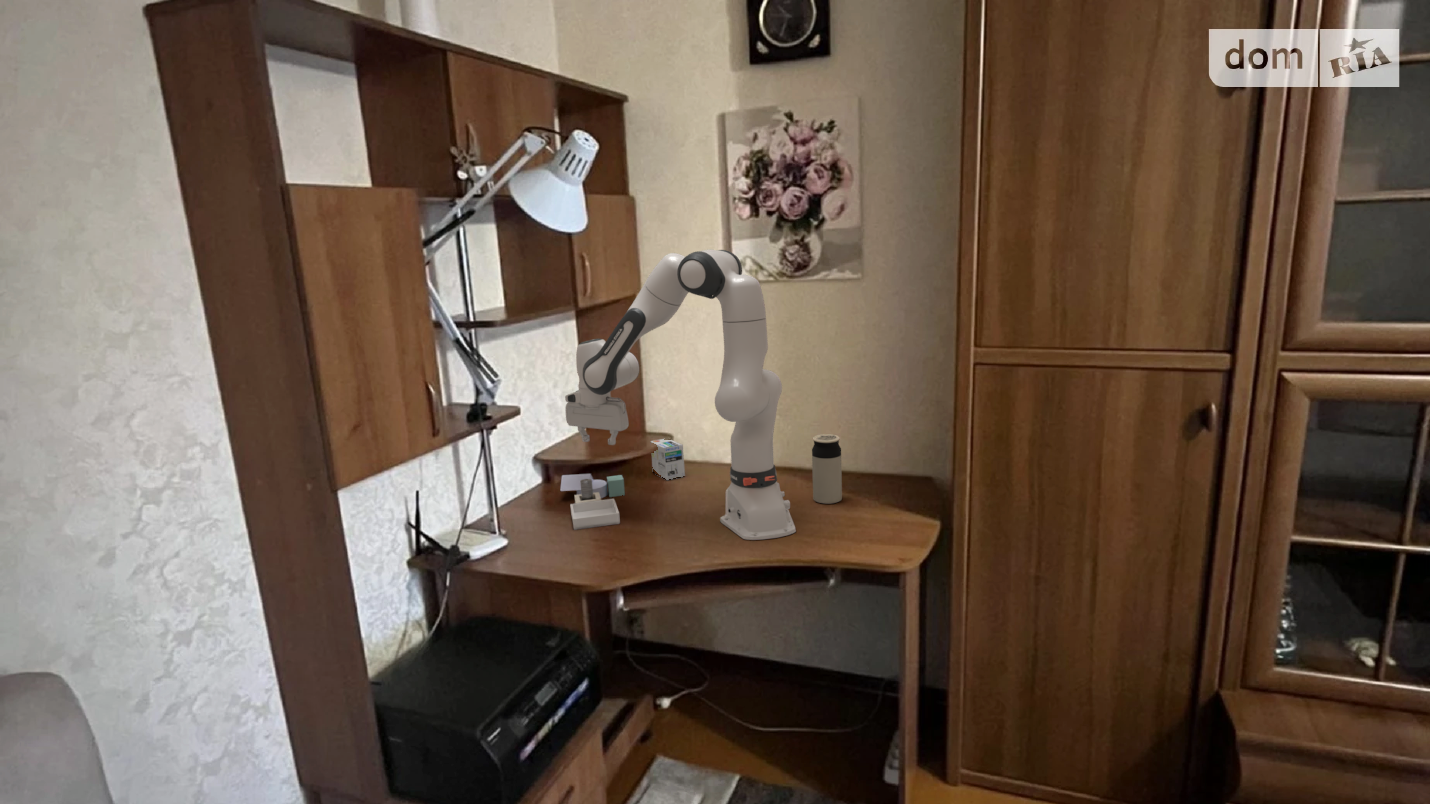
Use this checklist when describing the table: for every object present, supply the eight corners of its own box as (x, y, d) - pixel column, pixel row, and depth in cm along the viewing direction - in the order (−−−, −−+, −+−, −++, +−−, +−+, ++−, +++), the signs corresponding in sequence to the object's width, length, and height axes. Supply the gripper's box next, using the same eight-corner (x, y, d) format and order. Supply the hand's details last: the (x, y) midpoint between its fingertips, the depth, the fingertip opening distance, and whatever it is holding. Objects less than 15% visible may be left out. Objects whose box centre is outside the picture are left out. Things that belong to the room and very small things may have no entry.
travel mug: (847, 501, 215) (846, 438, 211) (822, 506, 212) (820, 443, 208) (832, 493, 222) (831, 432, 218) (808, 497, 219) (806, 436, 215)
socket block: (602, 509, 218) (601, 499, 218) (576, 513, 217) (575, 503, 216) (599, 501, 225) (598, 492, 224) (575, 505, 223) (574, 495, 223)
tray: (620, 523, 207) (619, 513, 206) (573, 529, 204) (572, 519, 204) (614, 508, 219) (614, 498, 218) (571, 514, 216) (570, 504, 215)
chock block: (624, 495, 230) (623, 479, 229) (609, 497, 229) (608, 481, 228) (623, 490, 234) (621, 474, 233) (608, 492, 233) (606, 476, 232)
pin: (594, 508, 220) (592, 481, 218) (583, 510, 219) (580, 483, 217) (593, 504, 223) (591, 478, 221) (582, 506, 222) (579, 479, 220)
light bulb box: (685, 477, 244) (683, 443, 241) (666, 481, 241) (664, 447, 238) (670, 469, 253) (668, 437, 251) (651, 473, 250) (649, 440, 247)
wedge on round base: (561, 501, 227) (605, 499, 227) (559, 480, 225) (603, 477, 226) (566, 491, 236) (609, 489, 236) (564, 470, 234) (607, 468, 234)
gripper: (631, 395, 217) (634, 443, 220) (574, 391, 228) (578, 436, 231) (617, 400, 212) (621, 449, 215) (560, 395, 222) (564, 442, 225)
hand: (598, 442), depth 223 cm, fingers open, 8 cm apart
